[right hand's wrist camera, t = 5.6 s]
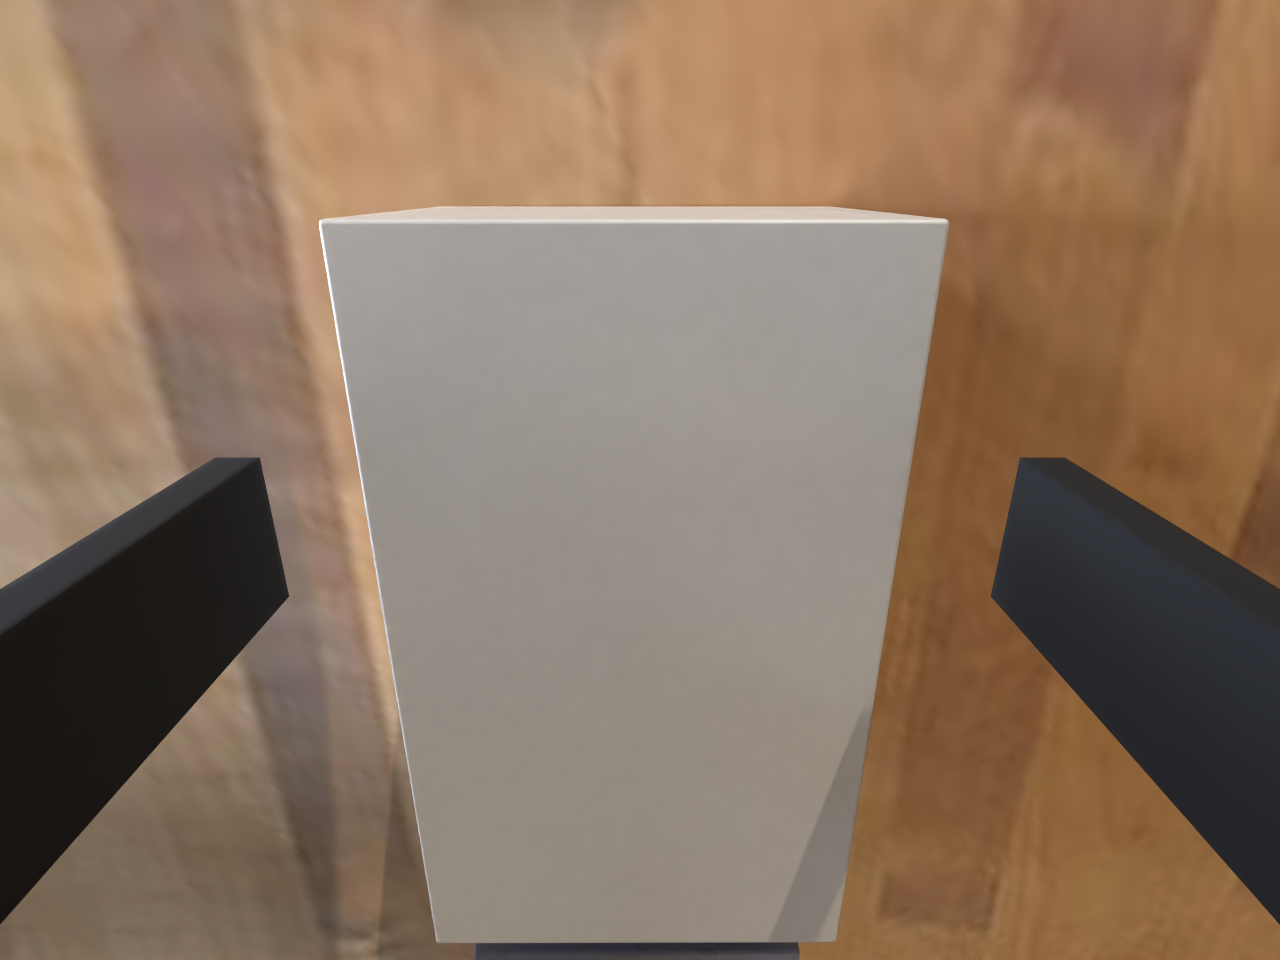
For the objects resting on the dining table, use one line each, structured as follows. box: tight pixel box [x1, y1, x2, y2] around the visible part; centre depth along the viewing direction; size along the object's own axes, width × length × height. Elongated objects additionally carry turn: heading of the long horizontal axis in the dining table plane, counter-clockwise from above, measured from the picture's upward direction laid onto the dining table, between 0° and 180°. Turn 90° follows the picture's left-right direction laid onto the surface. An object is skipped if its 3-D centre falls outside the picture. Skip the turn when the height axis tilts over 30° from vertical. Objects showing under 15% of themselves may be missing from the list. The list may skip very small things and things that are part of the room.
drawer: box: [473, 942, 800, 960], centre depth 22 cm, size 23×10×6 cm, turn 0°
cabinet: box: [319, 207, 949, 943], centre depth 19 cm, size 18×11×8 cm, turn 0°
